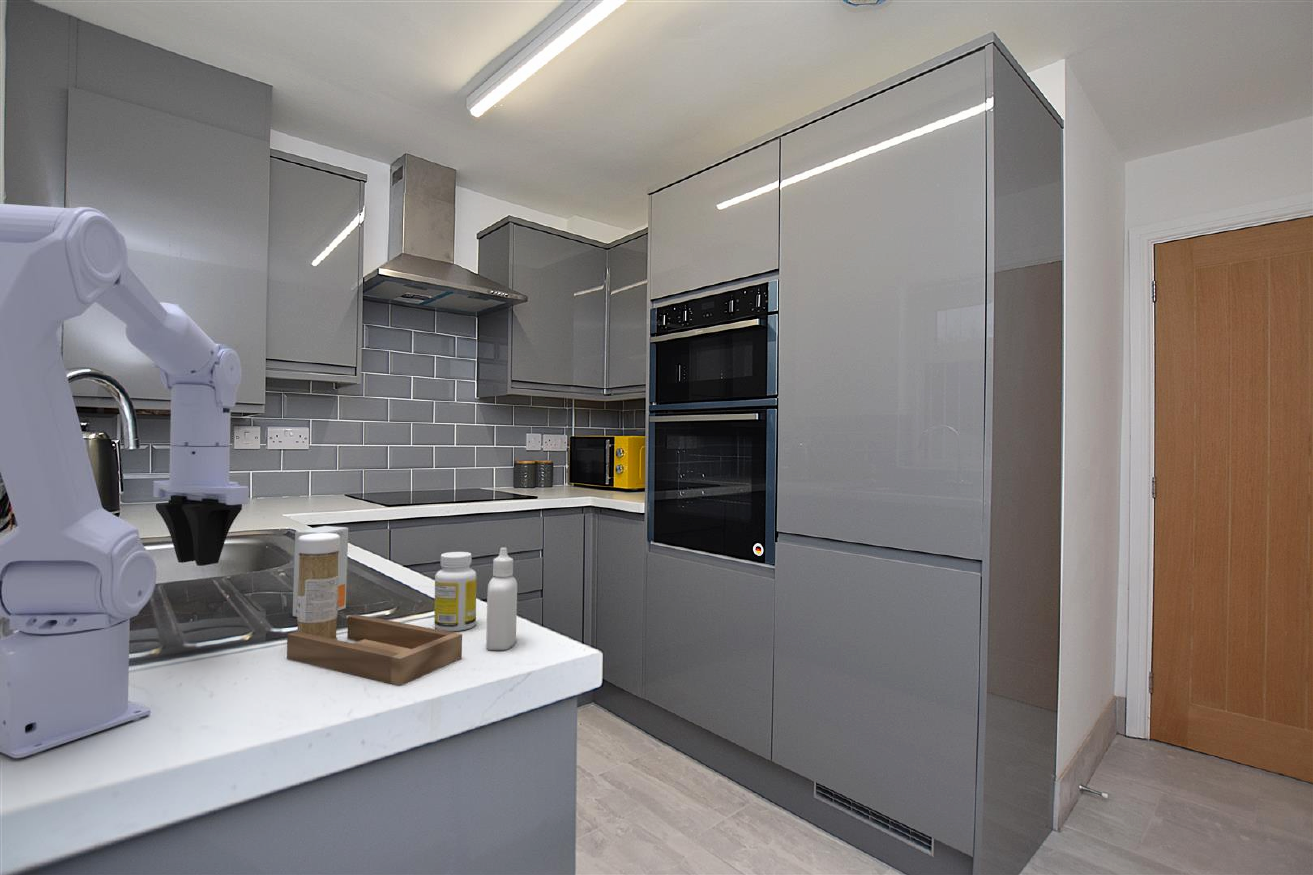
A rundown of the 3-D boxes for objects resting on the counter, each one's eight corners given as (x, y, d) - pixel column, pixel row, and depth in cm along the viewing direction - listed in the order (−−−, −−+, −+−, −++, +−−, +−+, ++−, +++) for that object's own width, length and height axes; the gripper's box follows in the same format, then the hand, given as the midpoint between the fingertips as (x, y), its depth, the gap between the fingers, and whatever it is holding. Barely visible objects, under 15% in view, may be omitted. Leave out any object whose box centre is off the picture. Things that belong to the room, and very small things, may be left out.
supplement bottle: (469, 618, 92) (471, 549, 92) (480, 629, 87) (482, 556, 87) (430, 623, 89) (431, 552, 89) (439, 634, 84) (440, 559, 84)
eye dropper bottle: (471, 647, 80) (474, 549, 80) (503, 635, 85) (505, 543, 85) (499, 653, 78) (501, 553, 78) (529, 640, 83) (531, 546, 83)
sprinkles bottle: (299, 641, 81) (301, 532, 80) (340, 638, 82) (342, 531, 82) (292, 653, 76) (294, 538, 76) (335, 649, 78) (337, 537, 78)
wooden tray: (399, 685, 67) (400, 658, 67) (286, 658, 74) (287, 634, 74) (461, 658, 76) (462, 634, 76) (355, 636, 83) (355, 614, 83)
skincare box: (318, 619, 90) (320, 532, 90) (291, 617, 91) (293, 531, 91) (347, 608, 96) (349, 526, 96) (322, 606, 97) (324, 525, 97)
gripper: (274, 447, 76) (272, 563, 77) (198, 444, 82) (195, 551, 83) (212, 448, 70) (210, 574, 70) (134, 444, 76) (132, 560, 76)
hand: (198, 562), depth 76 cm, fingers open, 3 cm apart
